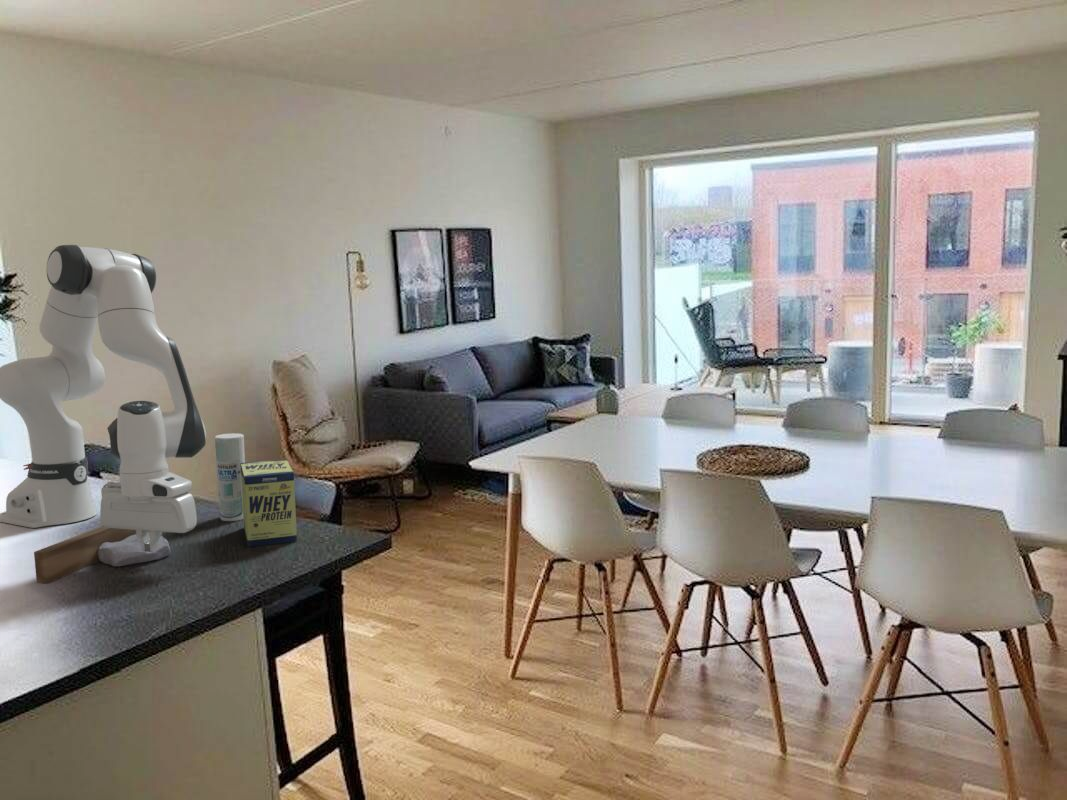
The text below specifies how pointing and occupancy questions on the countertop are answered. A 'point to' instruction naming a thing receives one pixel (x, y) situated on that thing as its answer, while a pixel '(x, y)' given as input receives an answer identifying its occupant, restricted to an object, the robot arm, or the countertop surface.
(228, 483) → the spray can
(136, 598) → the countertop surface
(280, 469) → the protein box
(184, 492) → the robot arm
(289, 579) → the countertop surface
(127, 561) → the stone block
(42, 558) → the walnut board
